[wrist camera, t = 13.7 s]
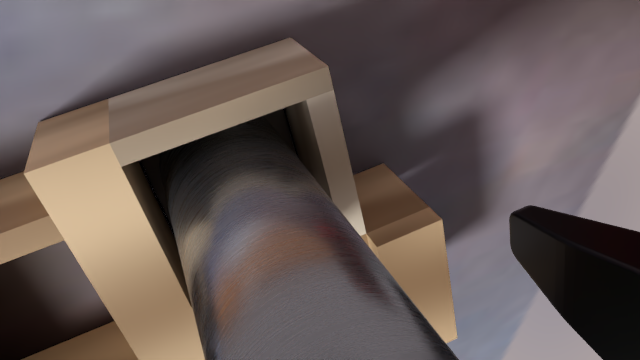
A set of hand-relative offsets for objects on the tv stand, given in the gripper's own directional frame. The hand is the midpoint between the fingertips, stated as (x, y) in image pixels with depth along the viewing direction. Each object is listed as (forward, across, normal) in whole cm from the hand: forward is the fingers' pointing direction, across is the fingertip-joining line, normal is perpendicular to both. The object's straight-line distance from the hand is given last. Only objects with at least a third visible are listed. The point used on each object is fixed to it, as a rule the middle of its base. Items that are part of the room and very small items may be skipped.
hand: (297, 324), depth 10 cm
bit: (+7, 0, 0) cm, 7 cm away
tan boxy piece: (+7, 0, 0) cm, 7 cm away
